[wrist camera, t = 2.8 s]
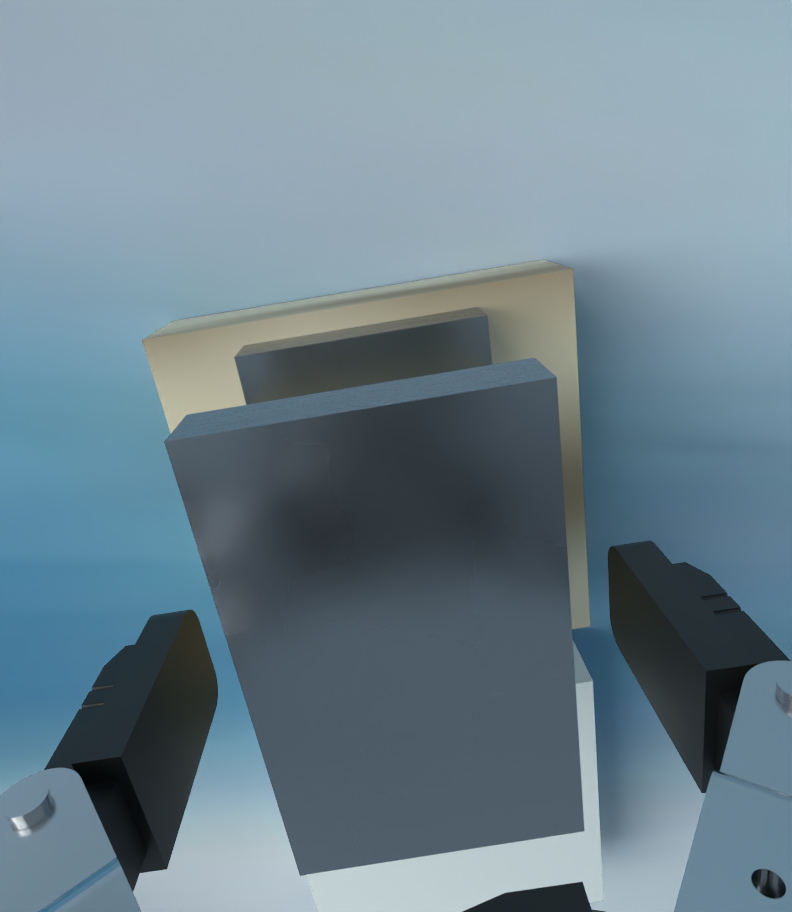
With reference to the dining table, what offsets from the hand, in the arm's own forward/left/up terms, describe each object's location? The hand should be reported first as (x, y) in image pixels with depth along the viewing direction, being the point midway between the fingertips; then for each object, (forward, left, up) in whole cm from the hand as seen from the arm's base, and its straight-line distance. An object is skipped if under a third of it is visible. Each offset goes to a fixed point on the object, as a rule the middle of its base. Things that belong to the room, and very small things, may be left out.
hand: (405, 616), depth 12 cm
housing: (0, 0, -5) cm, 5 cm away
